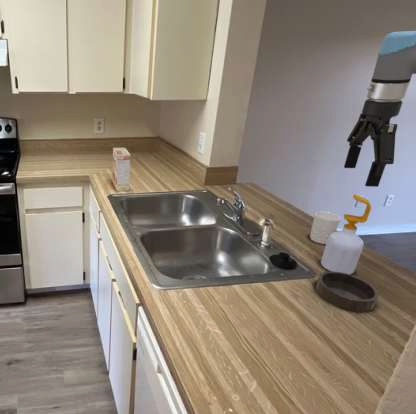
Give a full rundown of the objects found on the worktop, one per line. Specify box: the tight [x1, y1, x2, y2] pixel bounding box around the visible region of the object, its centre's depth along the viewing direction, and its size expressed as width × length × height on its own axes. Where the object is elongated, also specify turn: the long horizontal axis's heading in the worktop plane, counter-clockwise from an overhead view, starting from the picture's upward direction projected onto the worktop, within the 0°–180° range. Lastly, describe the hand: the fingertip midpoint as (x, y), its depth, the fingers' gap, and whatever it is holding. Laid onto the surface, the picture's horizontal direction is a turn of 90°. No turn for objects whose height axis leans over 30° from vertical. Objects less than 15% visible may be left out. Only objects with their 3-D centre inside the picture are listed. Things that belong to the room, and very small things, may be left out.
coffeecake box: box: [112, 147, 131, 192], centre depth 175 cm, size 15×7×20 cm, turn 6°
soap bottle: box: [320, 193, 372, 275], centre depth 102 cm, size 9×9×25 cm
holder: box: [315, 271, 379, 313], centre depth 93 cm, size 14×14×4 cm
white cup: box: [309, 210, 342, 245], centre depth 122 cm, size 8×8×10 cm
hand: (359, 176), depth 94 cm, fingers open, 13 cm apart
